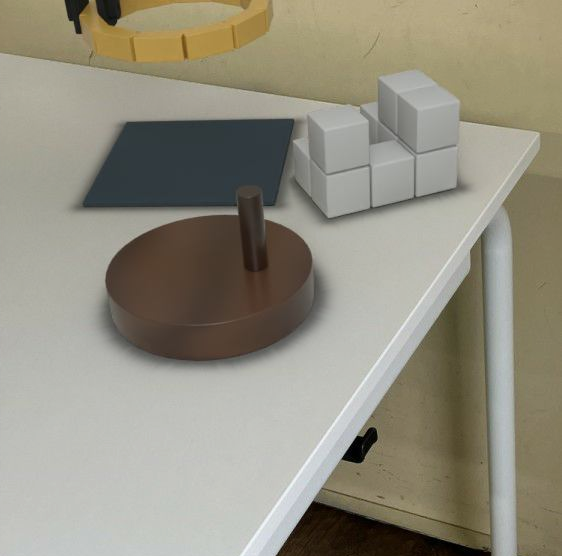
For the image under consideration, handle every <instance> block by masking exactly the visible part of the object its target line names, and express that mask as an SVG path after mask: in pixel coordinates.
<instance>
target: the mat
mask: <svg viewBox="0 0 562 556" xmlns="http://www.w3.org/2000/svg"><path fill="white" fill-rule="evenodd" d="M294 123H295V118H253V119H252V118H250V119H246V118H245V119H197V120H196V119H195V120H192V119H191V120H143V121H137V120H136V121H126V122H125V124H124V126H123V127H122V130H121V131H120V133H119V135H118V137H117V139H116V141H115V143H113V146H112V148H111V150H110V151H109V153H108V155H107V157H106V159H105V161H104V163H103V165H102V166H101V168H100V170H99V172H98V174H97V176H96V178H95V179H94V181H93V182H92V185H91V187H90V189H89V190H88V192H87V194H86V196H85V197H84V200H83V201H82V206H83V207H86V208H87V207H88V208H92V207H93V208H94V207H95V208H96V207H192V206H193V207H200V206H202V207H207V206H208V207H210V206H211V207H213V206H215V207H216V206H218V207H219V206H237V198H236V191H237V189H239V188H240V187H243V186H247V185H254V186H258V187H260V188H261V189H262V197H263V206H275V205H276V201H277V197H278V193H279V187H280V184H281V183H280V182H281V180H282V175H283V171H284V167H285V161H286V158H287V154H288V150H289V145H290V141H291V137H292V132H293V129H294Z"/></svg>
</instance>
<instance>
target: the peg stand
mask: <svg viewBox="0 0 562 556" xmlns="http://www.w3.org/2000/svg"><path fill="white" fill-rule="evenodd" d="M236 198H237V205H236V206H237V214H211V215H210V214H209V215H199V216H195V217H188V218H184V219H179V220H174V221H172V222H167V223H165V224H162V225H160V226H157V227H154V228H152V229H150V230H148V231H146V232H143V233H142V234H141V233H140V235H138V236H137V237H134V238H133V239H131V240H130V241H129V242H128V243H126V244H124V246H122V247H121V248H120V249H119V250H118V251H117V252H116V254H114V256H113V257H112V258H111V260H110V262H109V264H108V266H107V269H106V272H105V278H104V283H105V289H106V293H107V298H108V303H109V308H110V312H111V317H112V321H113V324H114V326H115V328H116V329H117V331H118V333H119V334H120V335H121V336H122V337H123V338H124V339H125V340H126V341H127V342H128V343H130V344H132V345H133V346H135V347H136V348H139V349H141V350H143V351H145V352H148V353H150V354H152V355H153V354H154V355H156V356H160V357H164V358H169V359H176V360H184V361H185V360H186V361H210V360H212V361H213V360H221V359H228V358H233V357H238V356H242V355H246V354H250V353H252V352H255V351H259V350H260V349H263V348H266V347H268V346H270V345H273V344H274V343H277V342H278V341H280V340H282V339H284V338H285V337H287V336H288V335H290V334H291V333H292V332H293V331H295V330H296V329H297V328H298V327H299V326H300V325H302V323H304V321H305V319H306V318H307V317H308V315H309V314H310V312H311V309H312V308H313V304H314V300H315V279H314V278H315V277H314V263H313V262H314V261H313V255H312V251H311V249H310V247H309V245H308V244H307V242H306V241H305V240H304V238H303V237H302V236H300V234H298V233H297V232H295V231H294V230H292V229H291V228H289V227H287V226H285V225H283V224H281V223H278V222H275V221H273V220H269V219H265V211H264V210H265V209H264V205H263V197H262V189H261V188H260V187H258V186H254V185H247V186H243V187H240V188H239V189H237V191H236Z"/></svg>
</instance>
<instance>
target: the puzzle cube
mask: <svg viewBox="0 0 562 556" xmlns="http://www.w3.org/2000/svg"><path fill="white" fill-rule="evenodd" d="M460 116H461V100H460V99H459V98H458V97H456V96H455V95H453V94H452V93H451V92H450V91H448V90H447V89H445V88H444V87H442V86H441V85H439V84H438V83H437V82H436V81H434V80H433V78H431V77H430V76H428V75H427V74H425V73H423V72H422V71H421V70H420V69H418V68H414V69H409V70H405V71H400V72H396V73H391V74H386V75H380V76H378V77H377V101H373V102H367V103H362V104H360V105H359V111H358V110H357V109H356V107H354V106H353V105H352V104H350V103H346V104H343V105H338V106H333V107H328V108H324V109H319V110H314V111H309V112H307V113H306V119H307V136H305V137H301V138H296V139H293V140H292V152H293V165H294V166H293V169H294V179H295V180H294V181H296V182H297V184H298V185H299V186H300V187H301V188H302V189H303V190H304V192H305V193H306V195H308V197H309V198H311V200H312V202H314V204H315V205H316V206H317V208H318V209H319V210H320V211H321V212H322V213H323V214H324V215H325V217H326V218H327V219H333V218H336V217H341V216H345V215H349V214H354V213H358V212H362V211H366V210H369V209H370V208H371V207H372V208H378V207H382V206H387V205H390V204H394V203H398V202H403V201H407V200H411V199H413V198H415V197H416V198H420V197H423V196H427V195H432V194H436V193H441V192H444V191H449V190H453V189H456V188H457V186H458V167H459V166H458V165H459V146H458V144H459V141H460V119H461V117H460Z"/></svg>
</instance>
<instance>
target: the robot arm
mask: <svg viewBox="0 0 562 556" xmlns="http://www.w3.org/2000/svg"><path fill="white" fill-rule="evenodd" d="M95 1H96V7H97V12H98V14H99V16H100V17H101V18H102V19H103V20H104V21H105V22H106V23H107V24H108V25H110V26H115V27H116V25H117V24H118V20H120V19H121V18H120V17H121V6H120V0H95ZM89 2H90V0H64V5H65V10H66V11H65V12H66V16H67V19H68V21H69V22H73V27H74V32H75V34H76V35H82V30H81V25H80V20H79V15H80V14H81V12H82V11H83V10H84V9H85V7H86V6H87V5H88V3H89Z"/></svg>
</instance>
